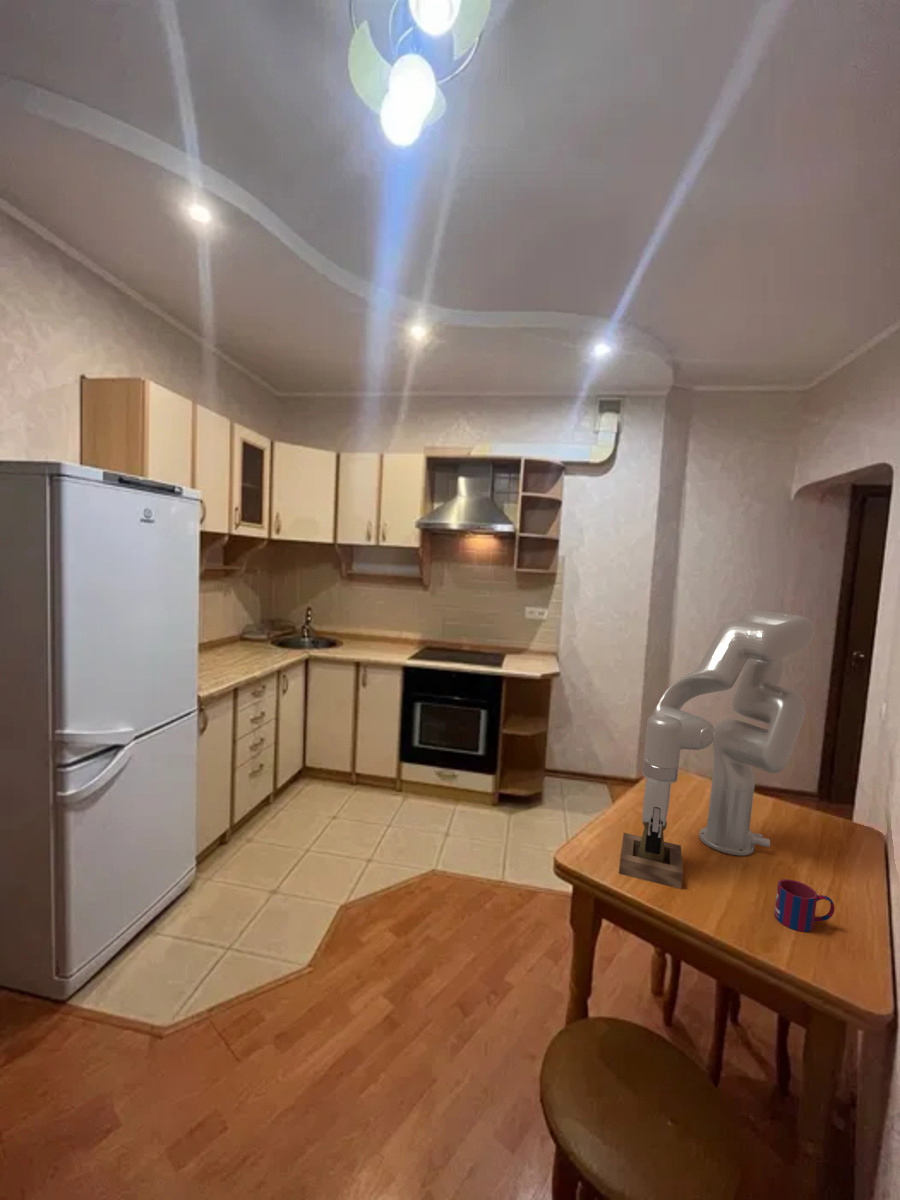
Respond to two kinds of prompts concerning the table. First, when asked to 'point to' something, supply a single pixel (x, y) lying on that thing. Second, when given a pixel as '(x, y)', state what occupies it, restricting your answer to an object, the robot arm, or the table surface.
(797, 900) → the mug
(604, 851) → the table surface
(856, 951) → the table surface
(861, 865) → the table surface
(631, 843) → the walnut holder
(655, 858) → the olive knobbed peg
